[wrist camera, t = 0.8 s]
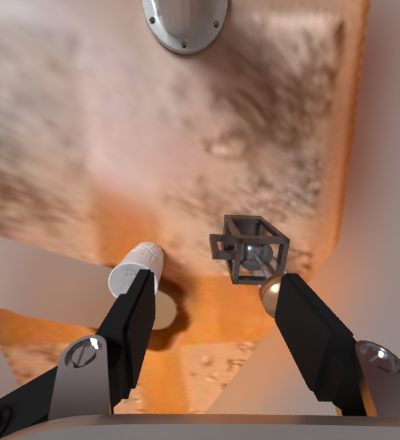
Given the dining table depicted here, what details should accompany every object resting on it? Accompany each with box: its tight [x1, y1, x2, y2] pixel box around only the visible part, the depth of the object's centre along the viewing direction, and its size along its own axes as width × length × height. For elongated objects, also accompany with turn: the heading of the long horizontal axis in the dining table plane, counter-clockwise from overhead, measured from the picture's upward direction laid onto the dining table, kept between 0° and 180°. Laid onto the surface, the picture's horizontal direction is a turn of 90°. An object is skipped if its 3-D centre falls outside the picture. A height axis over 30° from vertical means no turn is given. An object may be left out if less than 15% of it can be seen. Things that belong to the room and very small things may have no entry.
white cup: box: [108, 242, 164, 298], centre depth 35 cm, size 8×8×10 cm
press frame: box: [209, 215, 290, 285], centre depth 33 cm, size 7×10×13 cm
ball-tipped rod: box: [240, 243, 285, 318], centre depth 24 cm, size 5×5×11 cm
